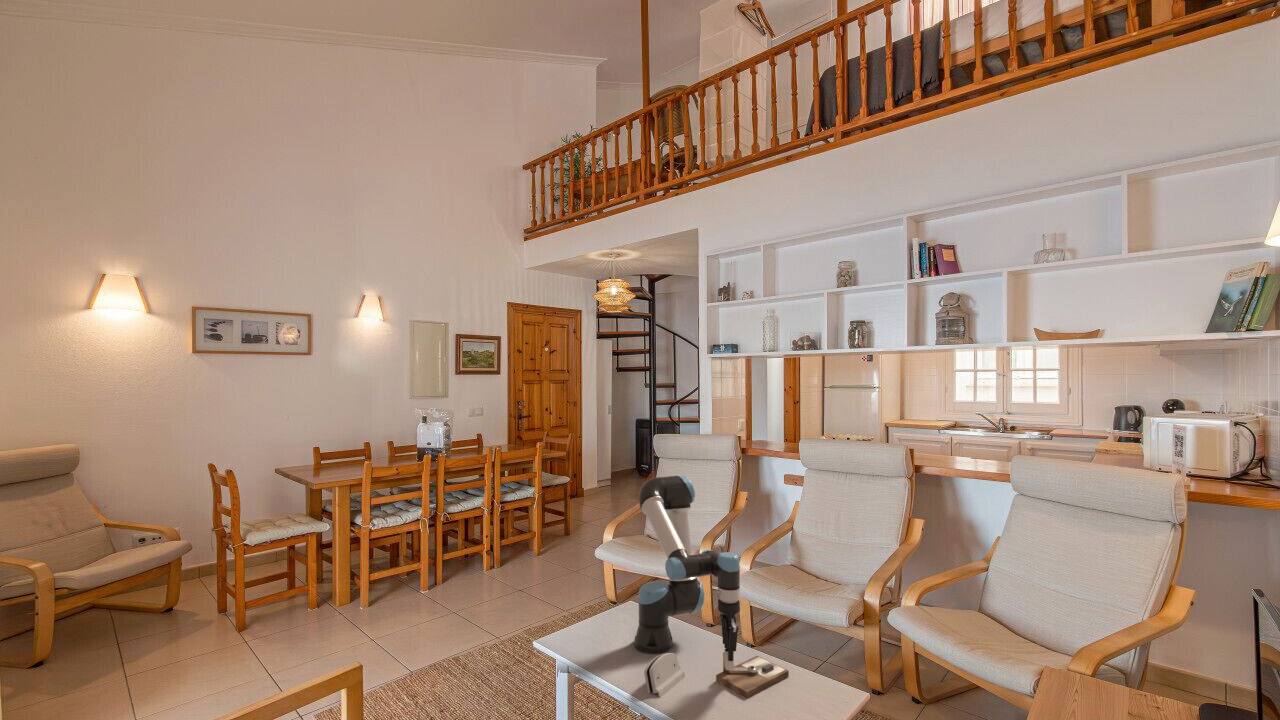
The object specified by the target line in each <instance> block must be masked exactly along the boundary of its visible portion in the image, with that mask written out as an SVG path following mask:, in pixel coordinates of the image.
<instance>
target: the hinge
mask: <svg viewBox="0 0 1280 720" xmlns="http://www.w3.org/2000/svg"><path fill="white" fill-rule="evenodd" d="M643 674H644V680H645V685H646V689H647V694H658V697H659V698H662V697H663V696H664V695H665V694H667V692H669V691H671V689H673V688H674V687H675V686H676V685H677V684H679V683H680V682H682V680H683V679H686V675H685V671H684V670H683V669H681V666H680V663H679V661H678V658H677V655H676V654H675V653H673V652H669V653H667V652H664V653H660V655H657V656H655V657H654V658H652V659H651V660H650V661H649V662H648V664H647V665H646V667H645V668H644V672H643Z"/></svg>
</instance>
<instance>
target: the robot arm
mask: <svg viewBox="0 0 1280 720" xmlns="http://www.w3.org/2000/svg"><path fill="white" fill-rule="evenodd" d="M695 497H696V491H695V487H694V484H693V483H692V481H691V479H690V478H689V477H688V476H685V475H669V476H659V477H656V476H655V477H651V478H650V479H648V480H645V482H644V483H643V484H642V486H641V487H640V490H639V493H638V505H639V507H640V510H641V512H642V513H643V514H644V515H646V516H647V519H648V521H649V522H650V524H651V526H652V529H653V531H654V533H655V535H656V537H657V539H658V542H659V544H660V546H661V549H662V550H663V552H664V554H665V556H666V561H665V564H664V565H665V572H666V576H667V577H668V583H667V582H666V581H662V580H653V581H649V582H646V583H643V585H641V587H640V588H639V590H638V600H637V601H638V626H637V631H636V634H635V635H634V636H635V637H634V638H633V639H634V640H633V641H634V643H633V644H634V648H635V649H636V650H638V651H639V652H642V653H645V654H654V655H655V654H656V655H657V654H664V653H667V652H668V651H670V650H671V649H672V648H673V646H674V642H673V641H674V640H673V636H672V632H671V629H670V626H669V617H673V616H680V615H685V614H693V613H695V612H699V611H700V610H702V607H704V603H705V595H706V593H705V588H704V585H703V583H702V581H700V580H699V579H698V578H699V577H704V576H710V575H711V576H714V577H716V578H717V590H716V593H717V598H718V599H717V610H718V612H719V613H720V614H719V617H720V622H721V636H722V645H724V646H723V647H724V652H725V669H726V670H734V666H735V660H734V659H735V655H734V654H735V653H734V652H737V644H738V643H737V642H738V633H739V625H737V618H736V614H739V612H740V611H741V601H740V599H741V586H740V585H741V584H740V582H741V581H740V579H741V578H740V575H741V569H740V568H741V565H740V556H739V555H738V554H736V553H735V552H729V551H726V552H725V551H724V552H720V553H718V552H717V551H715V550H712V549H705V550H703V551H702V552H700V553H698V554H692V546H691V536H690V525H689V515H688V514H689V513H688V512H689V510H690V509H691V507H692V506H691V504H692V503H693V502H695Z"/></svg>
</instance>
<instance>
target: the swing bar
mask: <svg viewBox="0 0 1280 720" xmlns="http://www.w3.org/2000/svg"><path fill="white" fill-rule="evenodd" d="M722 672H724V673H750V674H757V667H755V666H749V667H748V668H743V667H734V670H726V669H725V651H723V653H722Z"/></svg>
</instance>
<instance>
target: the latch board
mask: <svg viewBox="0 0 1280 720" xmlns="http://www.w3.org/2000/svg"><path fill="white" fill-rule="evenodd" d="M749 666H755V667H757V674H750V673H724V672H723V671H722V672H719V673H717V674H716V675H715V682H716V681H717V683H719V684H721V685H723V686H725V687H727V688H728V689H730V690H732V691H733V692H735V693H737V694H739V695H741V696H742V697H744V698H746V699H748V698H750V697H753V696H754V695H756V694H758V693H760V692H762V691H764V690H766V689H767V688H769V687H772V686H773V685H775V684H777V683H779V682H781V681H782V680H785V679H787V678H789V670H788V669H786V668H784V667H782V666H781V665H777V664H776V663H773V662H771V661H770V660H767V659H766V658H763V657H761V656H759V655H756V656H754V657H751V658H749V659H747V660H745V661H743V662H741V663H739V664H737V665H734V667H743V668H748V667H749Z"/></svg>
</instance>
